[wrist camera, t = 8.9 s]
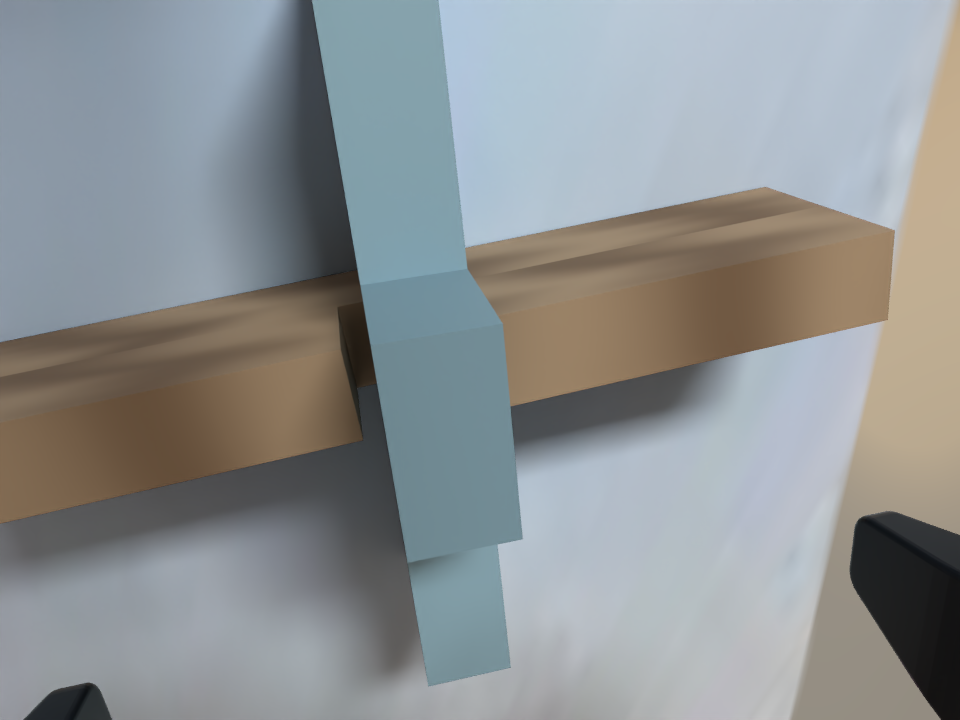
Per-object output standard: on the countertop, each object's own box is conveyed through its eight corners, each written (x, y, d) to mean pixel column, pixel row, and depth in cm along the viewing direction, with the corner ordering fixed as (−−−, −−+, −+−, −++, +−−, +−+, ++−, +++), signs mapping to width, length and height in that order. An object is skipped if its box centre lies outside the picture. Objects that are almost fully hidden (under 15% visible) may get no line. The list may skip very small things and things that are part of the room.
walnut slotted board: (10, 421, 19) (-89, 543, 14) (-25, 347, 18) (-141, 453, 13) (765, 258, 21) (887, 319, 16) (765, 186, 20) (894, 230, 16)
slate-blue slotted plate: (472, 542, 23) (544, 777, 16) (406, 556, 22) (448, 801, 15) (396, -64, 16) (459, -146, 9) (301, -57, 16) (289, -133, 9)
